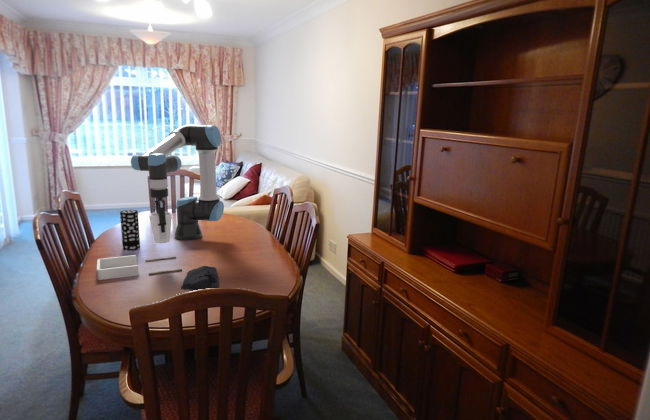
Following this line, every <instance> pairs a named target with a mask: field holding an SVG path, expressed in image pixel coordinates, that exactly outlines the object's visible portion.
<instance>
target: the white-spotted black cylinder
mask: <svg viewBox="0 0 650 420" xmlns="http://www.w3.org/2000/svg"><path fill="white" fill-rule="evenodd" d="M119 214H120V229H121V230H120V232H121V242H122V250H123V251H124V252H132V251H133V252H134V251H138V250H139V249H141V239H140V228H139V227H140V224H139V213H138V210H136V209H125V210H120V211H119Z"/></svg>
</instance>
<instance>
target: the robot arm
mask: <svg viewBox="0 0 650 420" xmlns="http://www.w3.org/2000/svg"><path fill="white" fill-rule="evenodd" d="M221 142H222V135H221V132H220V129H219V128H218V126H216V125H213V124H208V123H207V124H201V123H200V124H198V123H197V124H195V123H194V124H193V123H192V124H191V123H189V124H188V123H187V124H183V125H182V126H179V127H178V128H175V129H173V130H171V132H169V134H168V136H167V137H165V138H164V139H163V140H161V141H160V142H158V143H157V144H156V145H154V146H153V147H151V148H149V149H148V150H147V151H145V152H143V153H142V154H140V153H139V154H134V155H132V157H131V158H130V165H131V167H132V169H133V170H135V171H138V172H139V171H140V172H148V175H149V177H148V179H149V181H147V184H149V192H150V193H149V194H150V195H149V196H150V198H153V199H154V204H155V205H154V207H155V212H157V214H158V215H159V224H158V226H159V231H160V239H167V238H166V218H165V212H166V207H165V205H166V201H165V200H164V198H167V197H169V189H168V186H169V183H168V182H169V181H168V174H170V173H174V172H176V171H180V169H181V167H182V165H183V164H182V160H181V158H180V157H179V156H177V155H172V153H174V152H175V151H176V150H177V149H180V148H181V149H182V148H183V147H185V146H193V147H195V151H197V153H198V162H199V163H198V164H199V165H198V166H199V180H200V185H199V186H200V195H199V197H197V196H185V197H181V198H178V199H177V200H176V207H175V209H176V222H177V223H176V228H175V231H174V238H175V239H177V240H181V241H189V240H190V241H191V240H192V241H193V240H197V239H200V238H202V237H203V233H202V229H201V226H200V224H199V221H203V222H204V221H206V222H217V221H219V220H221V218H222V217H223V215H224V212H225V205H224V202H223V201H222V200H220V199H221V198H220V196H219V194H217V193H218V192H217V172H216V170H217V169H216V152H217V151H218V147H220V146H221V145H222V143H221Z"/></svg>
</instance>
